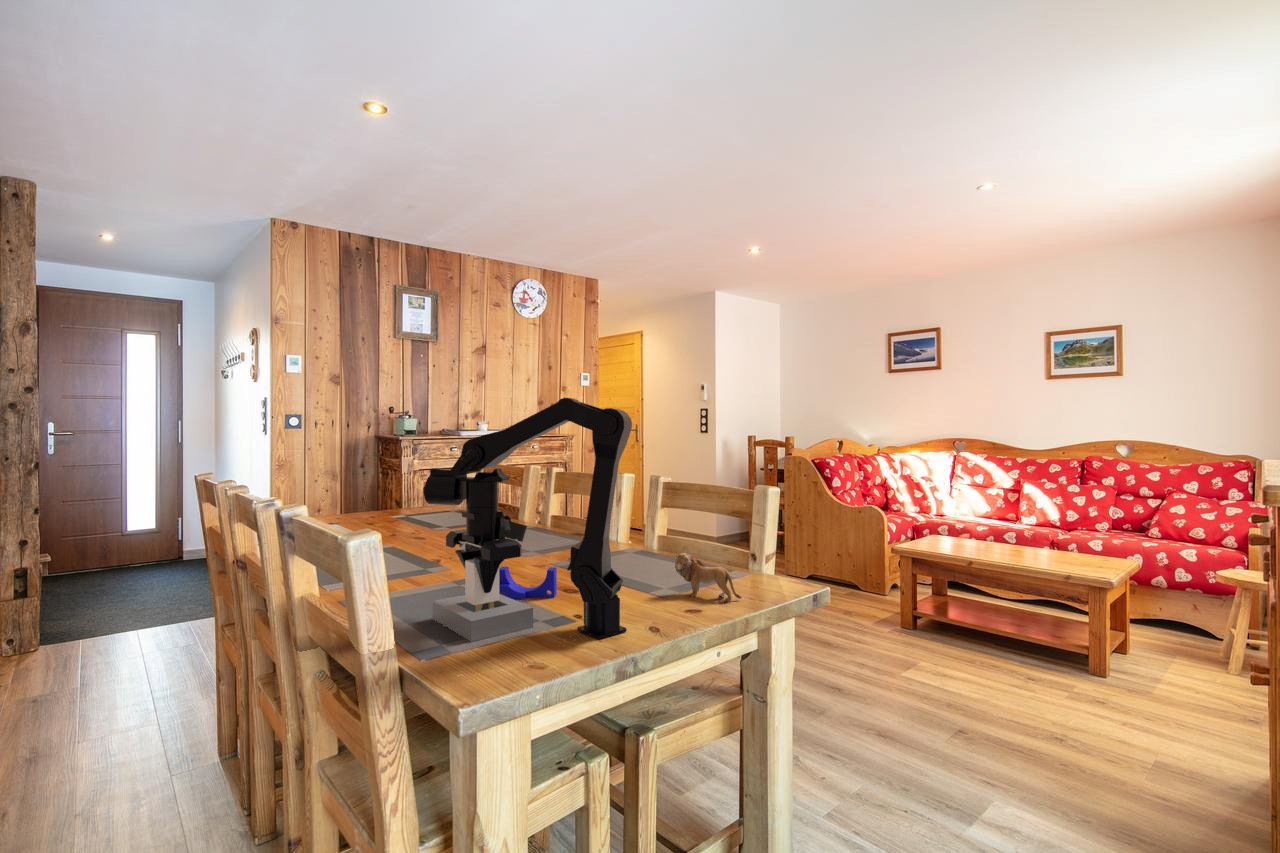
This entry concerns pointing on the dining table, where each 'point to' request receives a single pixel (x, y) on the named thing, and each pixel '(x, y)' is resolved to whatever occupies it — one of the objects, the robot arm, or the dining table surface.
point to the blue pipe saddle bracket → (518, 592)
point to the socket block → (482, 617)
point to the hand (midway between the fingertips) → (482, 590)
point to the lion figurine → (703, 575)
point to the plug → (479, 587)
